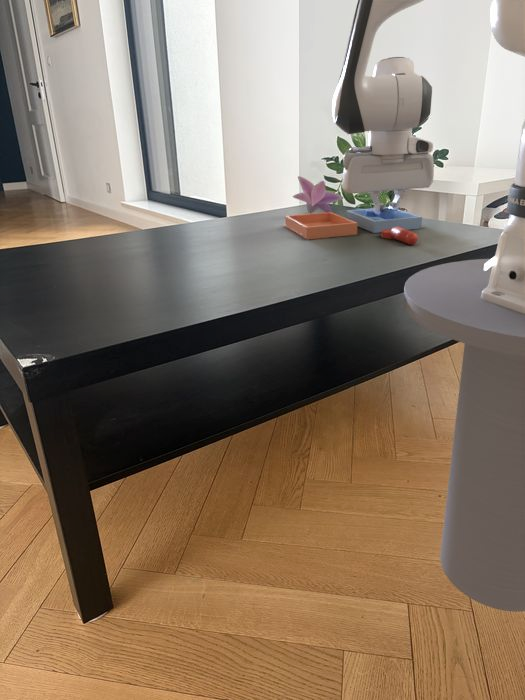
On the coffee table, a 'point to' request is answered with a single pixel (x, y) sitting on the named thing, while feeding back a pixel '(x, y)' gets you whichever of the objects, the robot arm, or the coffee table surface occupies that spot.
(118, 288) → the coffee table surface
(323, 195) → the lily
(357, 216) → the blue tray
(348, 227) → the orange tray
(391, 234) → the red spoon
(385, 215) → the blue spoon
